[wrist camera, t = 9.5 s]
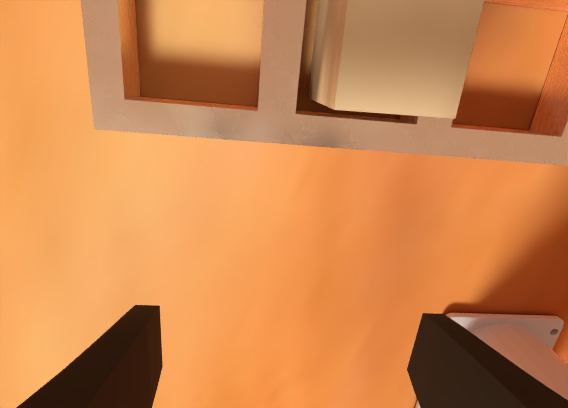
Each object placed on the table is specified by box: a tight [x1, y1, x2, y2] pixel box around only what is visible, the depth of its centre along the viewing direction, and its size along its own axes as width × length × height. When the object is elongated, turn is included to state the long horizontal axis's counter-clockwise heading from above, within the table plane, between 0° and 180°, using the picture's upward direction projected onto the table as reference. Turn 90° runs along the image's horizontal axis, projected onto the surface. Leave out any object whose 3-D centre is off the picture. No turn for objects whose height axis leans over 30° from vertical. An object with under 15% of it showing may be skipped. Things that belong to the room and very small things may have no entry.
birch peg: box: [308, 0, 485, 119], centre depth 13 cm, size 4×4×6 cm
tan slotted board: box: [81, 0, 568, 166], centre depth 15 cm, size 8×22×2 cm, turn 85°
